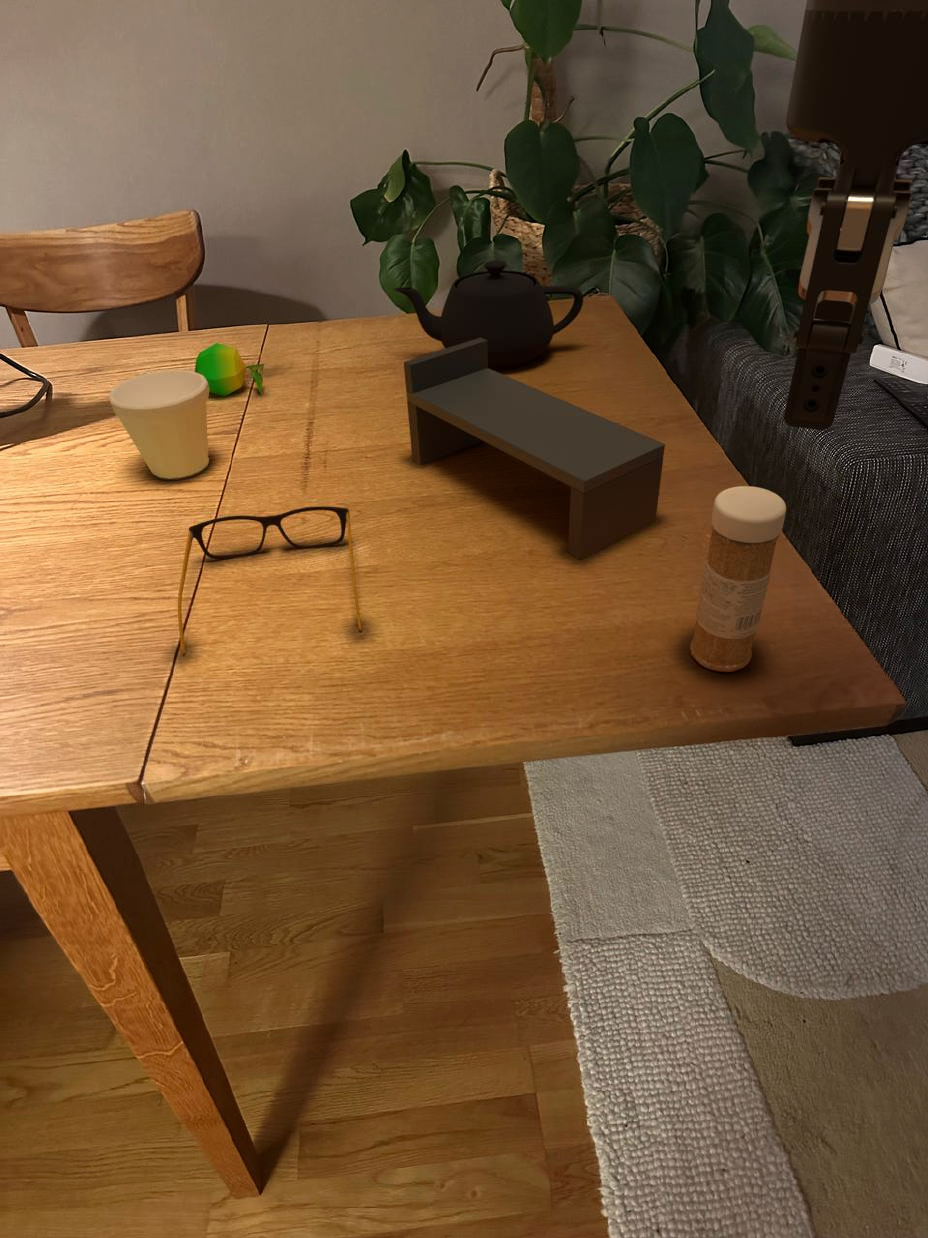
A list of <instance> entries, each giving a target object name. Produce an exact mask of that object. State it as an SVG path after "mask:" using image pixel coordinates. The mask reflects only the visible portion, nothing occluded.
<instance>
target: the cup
mask: <svg viewBox="0 0 928 1238" xmlns="http://www.w3.org/2000/svg"><path fill="white" fill-rule="evenodd" d="M209 391H210V390H209V386H208V382H207V380H206V379H205V377H204V376H203V375H201V374H198V373H196V372H195V371H193V370H185V369H167V370H156V371H152V372H147V373H142V374H138V375H136V376H133V377H130V378H128V379H125V380H123V381H121V382H119V384H117V385H115V386H113V388H112V389H111V391H110V393H108V396H107V397H108V399H109V402H110V405H111V408H112V411H113V413H114V414H115V415H116V416H117V418H118V419H119V421H120V422H121V425H122V426H123V428H124V429H125V431H126V432H127V435H129V437H130V439H131V440H132V442H133V444H134V446H135V447H136V449H137V450H138V452H139V454H140V455H141V457H142V459H143V461H144V462H145V463H146V466H147V467H148V469H149V471H151V474H152V475H153V476H154V477H156V478H158V479H160V480H165V481H181V480H186V479H190V478H193V477H195V476H198V475H199V474H201V473H203V472H204V471H205V470H206V469H207V468H208V466H209V463H210V458H209V448H208V447H209V445H208V444H209V443H208V441H209V439H208V414H207V413H208V411H207V408H208V407H207V404H208V400H209V395H210V392H209Z"/></svg>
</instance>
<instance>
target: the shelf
mask: <svg viewBox="0 0 928 1238" xmlns="http://www.w3.org/2000/svg"><path fill="white" fill-rule="evenodd" d="M403 371H404V382H405V383H404V384H405V392H406V404H407V406H406V407H407V416H408V426H409V437H410V438H409V439H410V449H411V460H412V461H413V462H415V463H416V464H418V465H419V466H422V465H425V464H427V463H430V462H432V461H435V460H437V459H440V458H442V457H445V456H447V455H450V454H452V453H455V452H458V451H461V450H462V449H465V448H468V447H470V446H473V445H475V444H476V445H477V443H480V442H485V443H487V444H488V445H491V446H493V448H496V449H498V450H500V451H502V452H504V453H506V454H507V455H510V456H511V457H513V458H515V459H517V460H519V461H521V462H523V463H525V464H526V465H528V466H531V467H533V468H534V469H536V470H538V471H540V472H542V473H544V474H546V475H547V476H550V477H552V478H554V479H556V480H557V481H559V482H561V483H563V484H565V485H567V486H569V487H570V500H569V501H570V502H569V520H568V521H569V522H568V541H567V543H568V544H567V554H568V555H570V556H572V557H574V558H576V559H577V560H579V561H581V560H584V559H586V558H588V557H590V556H592V555H593V554H595V553H597V552H599V551H601V550H602V549H603V550H604V549H605V548H607V547H609V546H611V545H613V544H614V543H616V542H619V541H620V540H622V539H624V538H626V537H629V536H630V535H632V534H634V533H636V532H637V531H639V530H641V529H644V528H645V527H647V526H649V525H651V524H653V523H654V522H656V520H657V512H658V505H659V496H660V490H661V488H660V487H661V480H662V473H663V465H664V457H665V450H666V449H665V448H666V444H665V443H664V442H661V441H659V440H657V439H654V438H652V437H649V436H648V435H645V434H642V433H640V432H637V431H636V430H634V429H630V428H628V427H626V426H623V425H622V424H619V423H617V422H615V421H612V420H610V419H607V418H605V417H603V416H600V415H598V414H596V413H594V412H591V411H589V410H587V409H584V408H582V407H579V406H577V405H575V404H572V403H571V402H568V401H565V400H564V399H561V398H559V397H556V396H554V395H552V394H549V393H547V392H545V391H542V390H540V389H538V388H535V387H533V386H531V385H529V384H526V383H523V382H521V381H519V380H517V379H514V378H513V377H509V376H508V375H506V374H503V373H500V372H498V371H497V370H496V371H495V370H494V369H490V368H488V357H487V340H485V339H482V338H478V339H474V340H471V341H468V342H465V343H462V344H459V345H456V346H452V347H449V348H443V349H440V350H437V351H433V352H431V353H428V354H424V355H422V356H418V357H415V358H412V359H409V360H406V361H405V360H404V361H403Z"/></svg>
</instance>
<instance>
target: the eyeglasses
mask: <svg viewBox="0 0 928 1238" xmlns="http://www.w3.org/2000/svg"><path fill="white" fill-rule="evenodd" d="M314 511H330V512H334V513H335V514H336V515H337V517H338V518H339V522H340V536H339V538H338V539H337V540H334V541H331V542H325V543H319V544H312V545H310V544H309V545H306V544H305V545H304V544H297V543H295V542H293V541H292V540H291V539H290V537H288V535H287V533H286V532H285V530H284V529H283V527H282V520H284V519H285V518H287V517H289V516H292V515H295V514H300V513H305V512H314ZM350 517H351V515H350V510H349V508H347V507H339V506H323V505H322V506H306V507H301V508H295V509H292V510H289V511H286V512H284V513H279V514H276V515H267V516H257V515H256V516H255V515H230V516H222V517H217V518H213V519H210V520H206V521H203V522H200V523H197V524H193V525H191V526H189V527H188V533H187V539H186V544H185V551H184V557H183V563H182V570H181V575H180V582H179V588H178V597H177V619H178V631H179V641H180V642H179V643H180V651H181V653H182V654H186V644H185V637H184V626H183V615H182V614H183V613H182V601H183V592H184V587H185V581H186V575H187V570H188V564H189V560H190V554H191V551H192V545H193V540H194V539H195V540H196V542H197V543H198V544H199V547H200V548H201V550H202V552H203V553H204V554H205V555H206V557H208V558H210V559H213V560H226V559H236V558H237V559H238V558H244V557H249V556H252V555H256V554H258V553H259V552H260V551H261V550H262V548H263V545H264V542H265V538H266V534H267V530H268V527H270V526H276V527H277V529H278V530H279V532H280V534H281V535H282V537H283V538H284V539H285V541H286V542H287V543H288V544H289V545H290V546H292V547H293V548H296V549H301V550H309V549H319V548H326V547H331V546H336V545H339V544H341V542H342V541H343V540H344V538H345V534H346V529H347V535H348V545H349V556H350V568H351V577H352V588H353V596H354V604H355V610H356V611H355V612H356V619H357V627H358V630H359V631H362V622H361V621H362V620H361V615H360V608H359V607H360V606H359V597H358V590H357V581H356V573H355V562H354V552H353V551H354V550H353V541H352V531H351V520H350ZM239 520H244V521H245V520H246V521H252V522H253V521H254V522H258V523H260V524H261V525H262V537H261V541H260V544H259V546H258V547H257V548H256V549H254V550H251V551H248V552H243V553H236V554H235V553H234V554H224V555H223V554H222V555H217V554H213V553H211V552H209V550H208V549H207V547H206V545H205V543H204V539H203V531H204V529H205V528H206V527H207V526H210V525H212V524H217V523H220V522H221V523H222V522H227V521H239ZM346 527H347V528H346Z"/></svg>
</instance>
